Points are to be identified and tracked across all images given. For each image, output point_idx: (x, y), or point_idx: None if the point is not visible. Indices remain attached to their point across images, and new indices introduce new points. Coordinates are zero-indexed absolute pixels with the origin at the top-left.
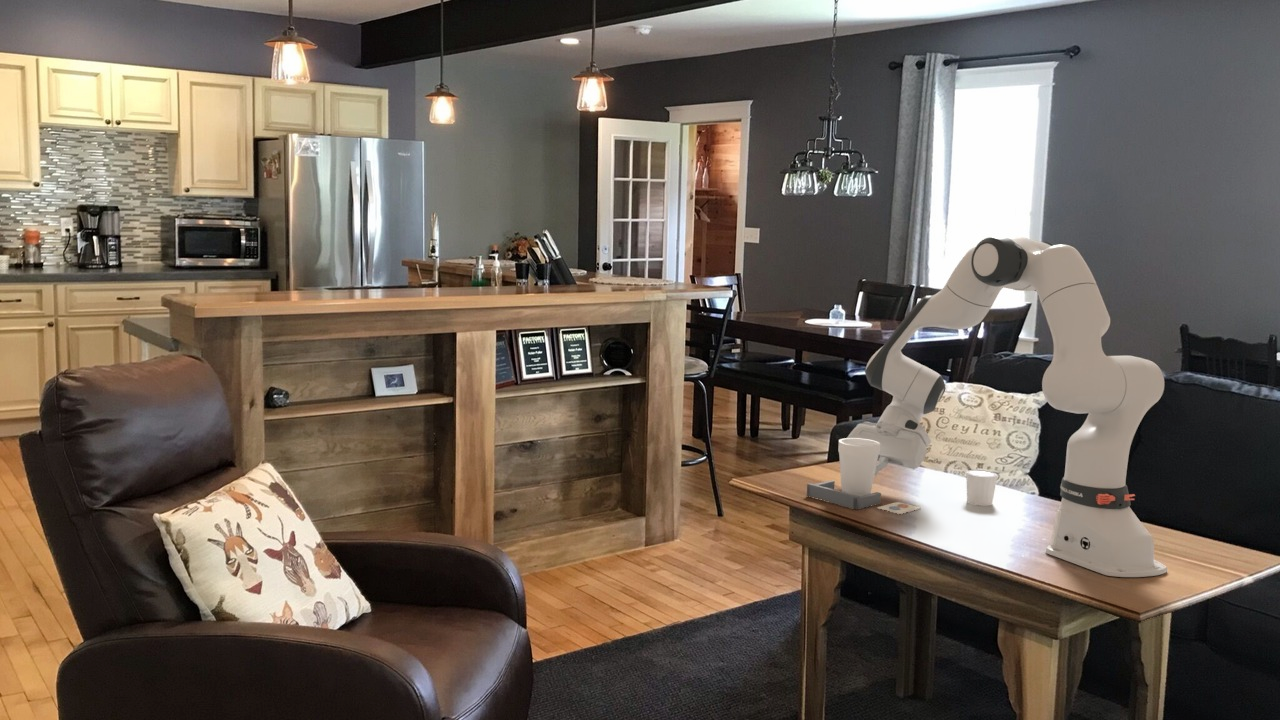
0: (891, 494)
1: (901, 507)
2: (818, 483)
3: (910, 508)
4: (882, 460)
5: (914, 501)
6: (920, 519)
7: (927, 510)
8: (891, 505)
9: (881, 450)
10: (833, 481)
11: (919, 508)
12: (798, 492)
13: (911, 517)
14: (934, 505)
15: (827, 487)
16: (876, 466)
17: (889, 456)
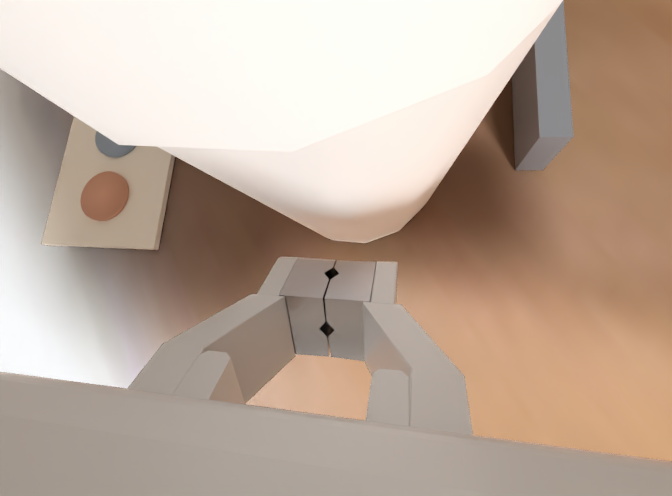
0: (257, 396)
1: (104, 174)
2: (561, 9)
3: (70, 193)
4: (175, 350)
5: (109, 354)
6: (8, 112)
7: (19, 251)
8: (149, 165)
9: (132, 460)
10: (539, 126)
11: (45, 236)
12: (626, 2)
13: (41, 106)
14: (15, 363)
15: (524, 88)
16: (258, 295)
17: (25, 376)
